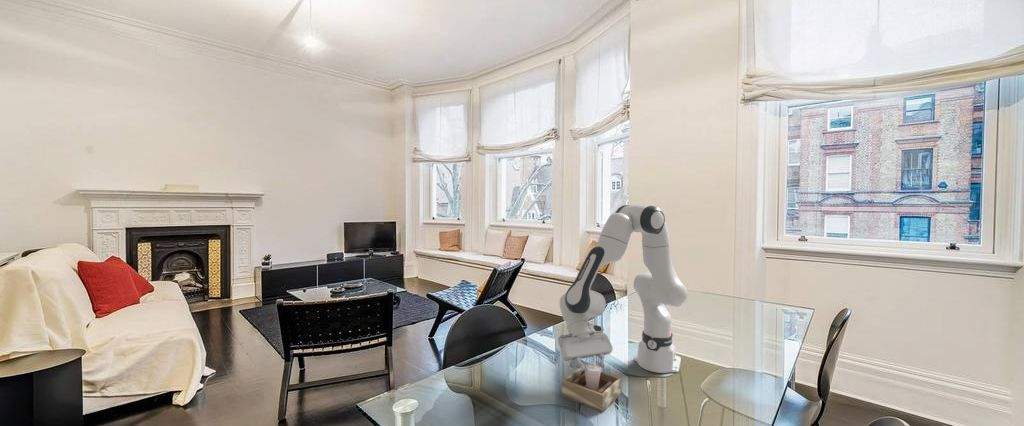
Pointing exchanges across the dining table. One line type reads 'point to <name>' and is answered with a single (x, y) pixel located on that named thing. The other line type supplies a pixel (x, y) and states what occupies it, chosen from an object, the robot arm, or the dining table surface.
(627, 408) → the dining table surface
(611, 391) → the open wooden box
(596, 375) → the smoothie
